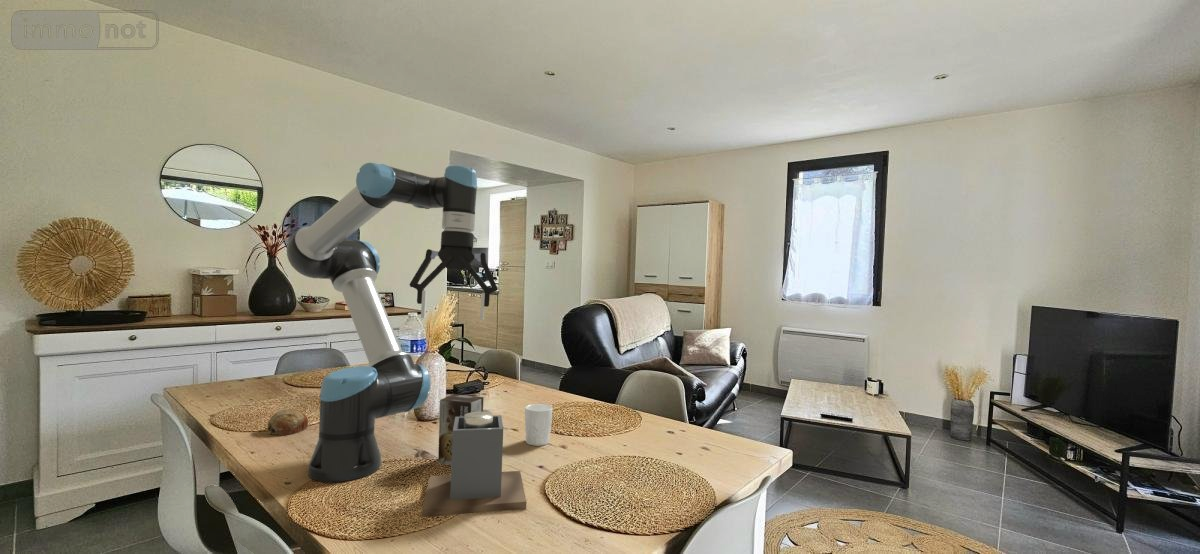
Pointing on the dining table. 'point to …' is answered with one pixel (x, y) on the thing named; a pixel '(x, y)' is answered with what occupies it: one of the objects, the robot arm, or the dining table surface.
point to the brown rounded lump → (287, 422)
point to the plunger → (478, 420)
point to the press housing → (476, 461)
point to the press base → (441, 505)
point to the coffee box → (448, 412)
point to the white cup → (538, 424)
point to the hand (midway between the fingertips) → (452, 319)
